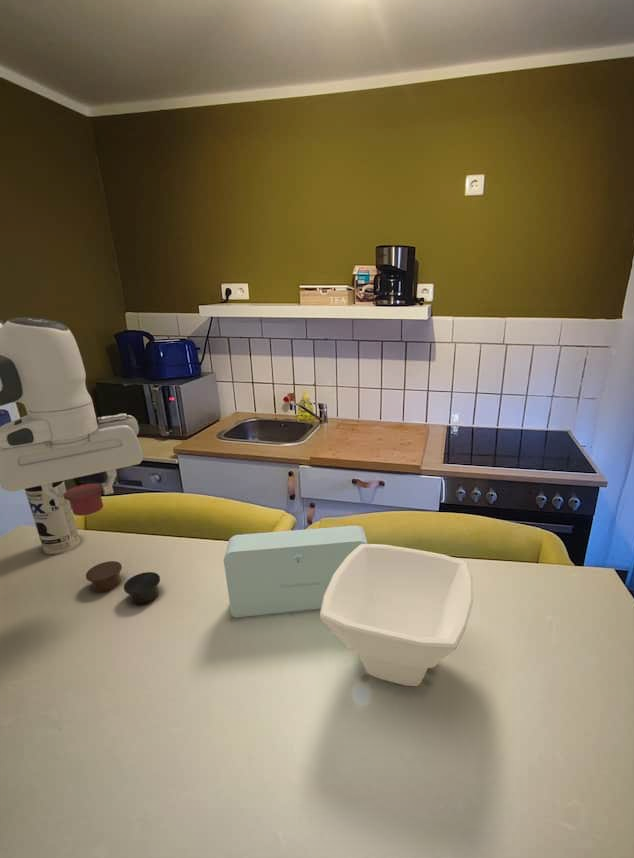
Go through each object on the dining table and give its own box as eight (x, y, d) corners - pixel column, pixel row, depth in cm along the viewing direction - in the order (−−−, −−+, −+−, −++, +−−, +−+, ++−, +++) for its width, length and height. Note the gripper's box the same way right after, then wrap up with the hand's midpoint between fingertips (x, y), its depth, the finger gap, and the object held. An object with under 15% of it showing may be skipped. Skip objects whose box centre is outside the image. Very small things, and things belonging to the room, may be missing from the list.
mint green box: (231, 623, 71) (221, 555, 66) (236, 600, 76) (227, 535, 72) (369, 609, 74) (369, 543, 69) (364, 587, 79) (364, 524, 75)
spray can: (36, 553, 91) (8, 466, 84) (65, 536, 97) (42, 454, 90) (59, 558, 89) (33, 470, 82) (88, 541, 95) (65, 457, 88)
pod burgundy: (70, 521, 71) (64, 501, 70) (67, 507, 76) (62, 489, 74) (109, 510, 74) (104, 492, 73) (104, 498, 79) (100, 480, 77)
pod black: (131, 614, 73) (126, 597, 72) (125, 596, 78) (121, 580, 76) (166, 600, 76) (163, 584, 75) (159, 584, 81) (155, 568, 80)
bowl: (355, 607, 74) (354, 538, 69) (469, 632, 69) (477, 558, 64) (311, 700, 58) (306, 617, 53) (458, 742, 52) (467, 655, 47)
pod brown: (92, 601, 77) (87, 584, 75) (88, 584, 81) (84, 568, 80) (127, 588, 80) (123, 572, 79) (122, 573, 84) (118, 557, 83)
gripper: (131, 407, 77) (146, 477, 82) (-14, 429, 66) (13, 509, 71) (138, 415, 72) (153, 488, 77) (-17, 440, 61) (12, 524, 66)
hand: (85, 498), depth 74 cm, fingers closed on pod burgundy, 6 cm apart
